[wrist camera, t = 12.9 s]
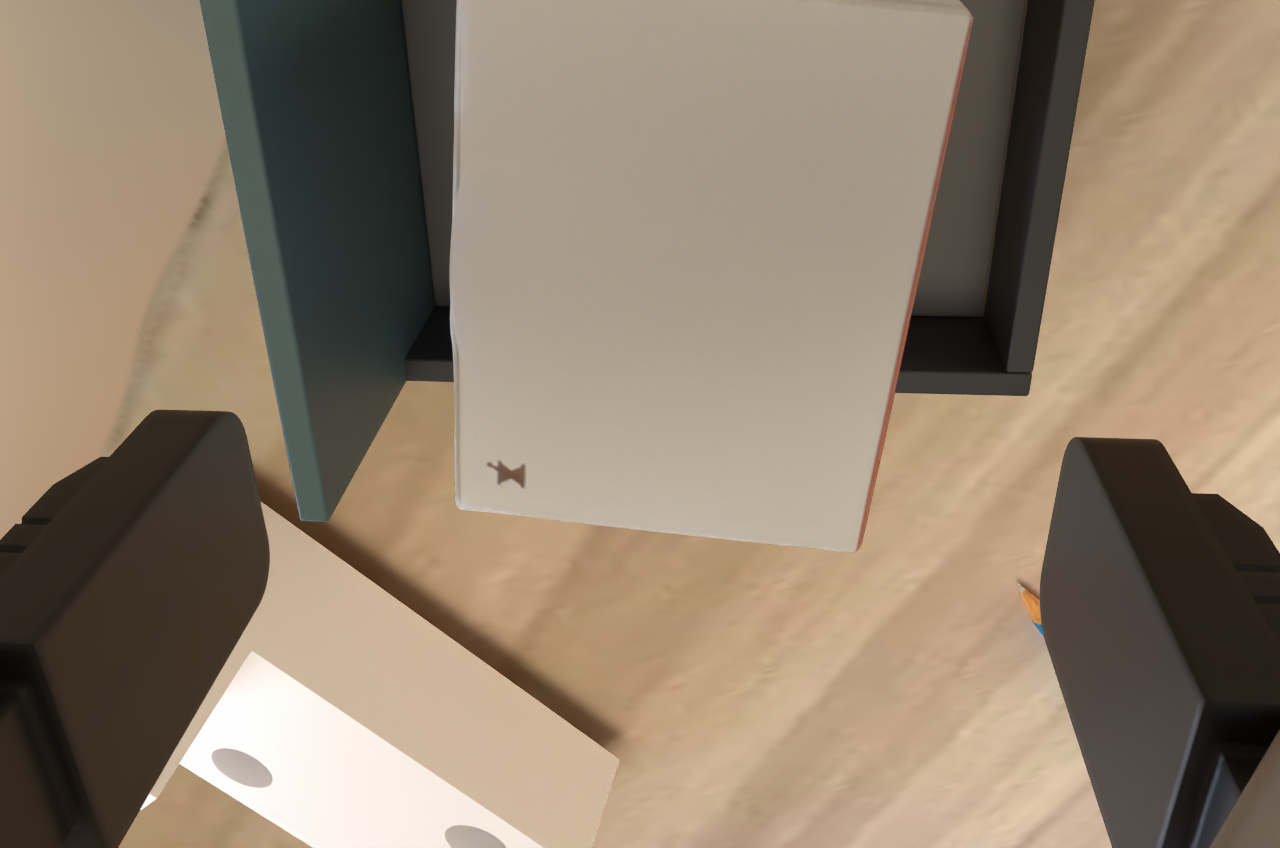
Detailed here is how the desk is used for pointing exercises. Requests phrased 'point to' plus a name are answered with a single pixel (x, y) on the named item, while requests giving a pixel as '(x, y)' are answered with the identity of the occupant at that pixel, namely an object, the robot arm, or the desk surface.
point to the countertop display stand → (423, 199)
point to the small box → (690, 255)
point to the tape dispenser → (383, 725)
